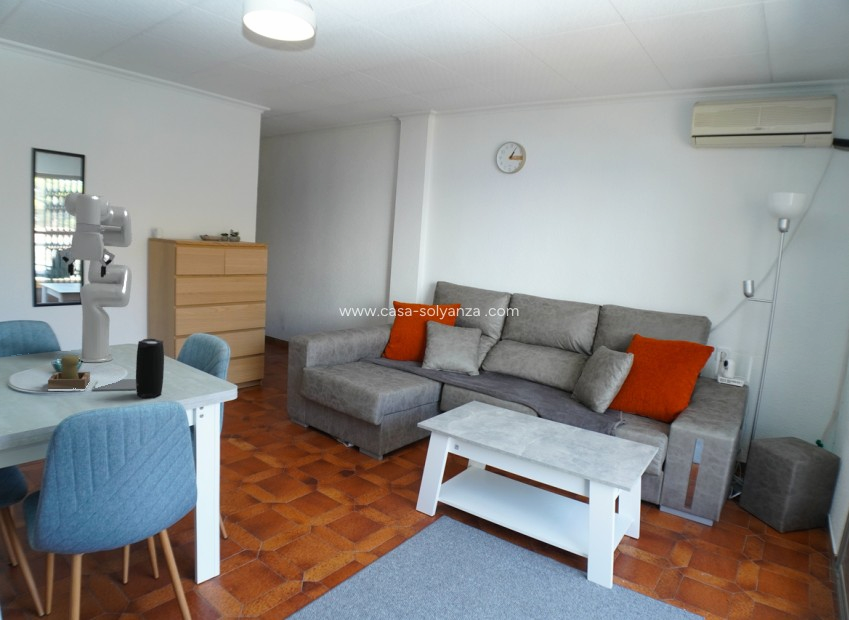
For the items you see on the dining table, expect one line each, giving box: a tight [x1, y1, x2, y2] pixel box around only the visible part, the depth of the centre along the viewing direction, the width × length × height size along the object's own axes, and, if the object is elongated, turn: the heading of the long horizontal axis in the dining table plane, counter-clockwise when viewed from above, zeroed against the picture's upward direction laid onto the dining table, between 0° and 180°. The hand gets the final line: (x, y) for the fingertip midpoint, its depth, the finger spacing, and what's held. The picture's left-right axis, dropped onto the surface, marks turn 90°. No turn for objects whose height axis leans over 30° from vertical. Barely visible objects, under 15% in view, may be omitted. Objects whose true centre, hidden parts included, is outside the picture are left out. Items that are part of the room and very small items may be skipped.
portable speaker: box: [135, 338, 165, 399], centre depth 183 cm, size 8×9×19 cm
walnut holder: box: [47, 371, 91, 390], centre depth 185 cm, size 10×10×4 cm
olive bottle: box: [60, 355, 80, 379], centre depth 184 cm, size 6×6×11 cm
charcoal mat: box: [92, 378, 136, 392], centre depth 192 cm, size 13×13×1 cm
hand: (87, 276), depth 198 cm, fingers open, 9 cm apart
